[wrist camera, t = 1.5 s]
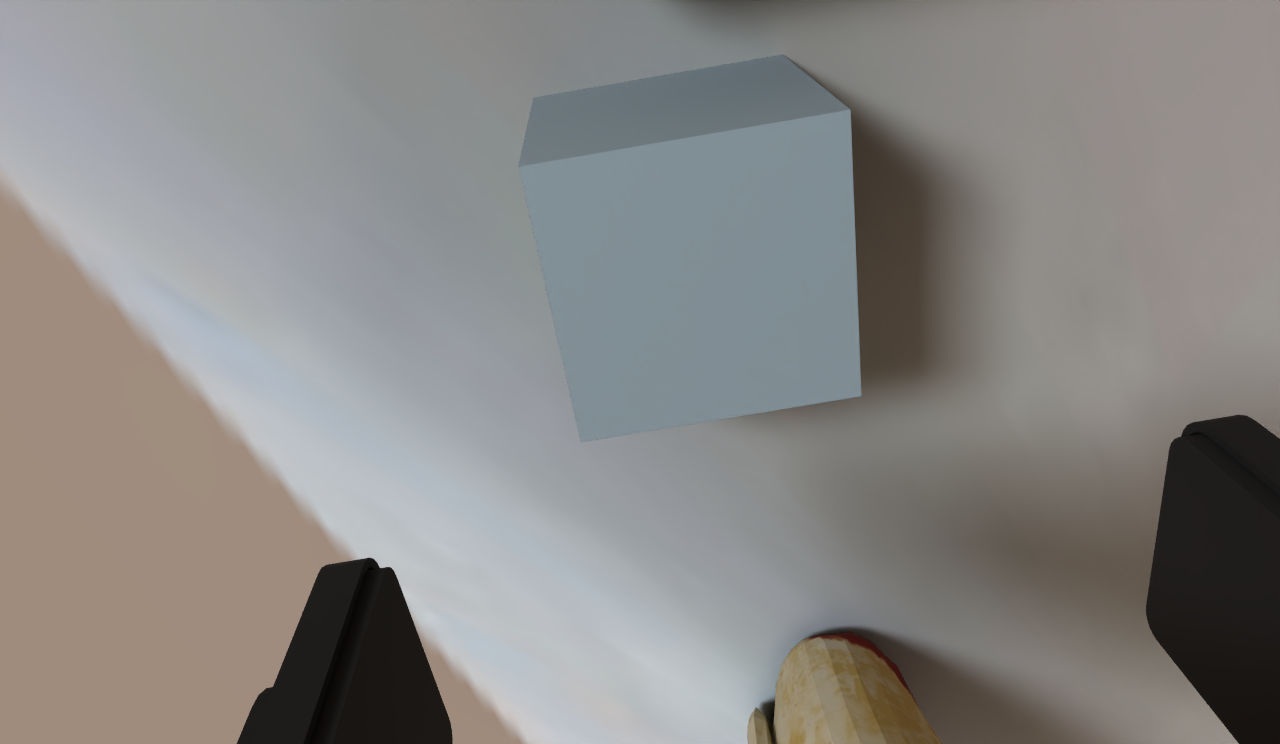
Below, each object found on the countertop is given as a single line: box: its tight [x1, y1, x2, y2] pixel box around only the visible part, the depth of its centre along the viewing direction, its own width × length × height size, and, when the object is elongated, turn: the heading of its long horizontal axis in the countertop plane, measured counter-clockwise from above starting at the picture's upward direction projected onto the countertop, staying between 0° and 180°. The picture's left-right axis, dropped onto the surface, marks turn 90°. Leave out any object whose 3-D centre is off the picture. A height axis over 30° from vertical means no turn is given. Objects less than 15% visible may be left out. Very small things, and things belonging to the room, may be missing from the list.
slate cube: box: [518, 55, 861, 442], centre depth 20 cm, size 6×6×6 cm
